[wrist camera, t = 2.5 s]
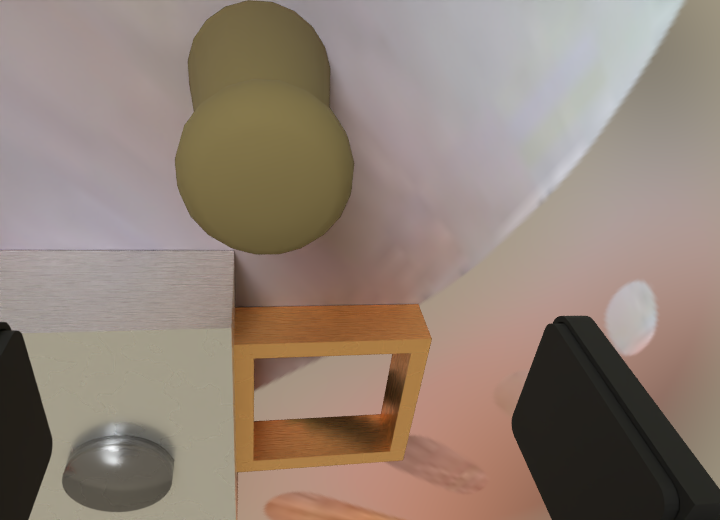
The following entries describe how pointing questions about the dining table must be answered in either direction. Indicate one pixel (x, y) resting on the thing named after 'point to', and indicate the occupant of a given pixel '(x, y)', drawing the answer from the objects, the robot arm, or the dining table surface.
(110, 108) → the dining table surface
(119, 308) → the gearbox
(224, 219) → the cork
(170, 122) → the dining table surface
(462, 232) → the dining table surface
